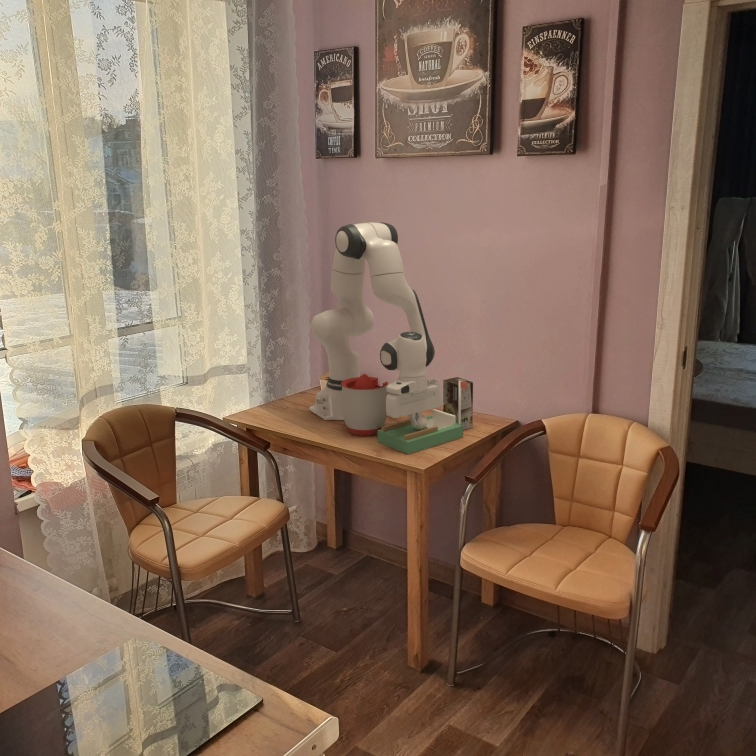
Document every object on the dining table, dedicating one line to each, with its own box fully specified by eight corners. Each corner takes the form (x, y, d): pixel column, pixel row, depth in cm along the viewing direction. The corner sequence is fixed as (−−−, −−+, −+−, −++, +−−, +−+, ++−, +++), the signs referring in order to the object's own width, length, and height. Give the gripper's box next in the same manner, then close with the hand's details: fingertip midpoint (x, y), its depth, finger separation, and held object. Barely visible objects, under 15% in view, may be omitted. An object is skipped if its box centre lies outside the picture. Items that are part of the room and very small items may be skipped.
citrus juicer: (401, 431, 262) (401, 374, 257) (358, 441, 253) (356, 382, 248) (376, 419, 275) (375, 365, 270) (333, 429, 265) (332, 372, 260)
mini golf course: (377, 442, 252) (376, 385, 247) (431, 426, 267) (431, 372, 262) (412, 456, 239) (412, 396, 234) (467, 438, 254) (468, 382, 249)
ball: (406, 422, 250) (415, 409, 251) (413, 428, 254) (421, 415, 255) (418, 428, 247) (427, 415, 248) (424, 434, 251) (433, 422, 252)
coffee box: (473, 427, 265) (474, 382, 260) (458, 431, 261) (458, 385, 257) (457, 420, 272) (457, 376, 268) (442, 424, 269) (442, 379, 265)
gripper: (432, 377, 254) (434, 418, 257) (381, 387, 242) (384, 430, 245) (445, 379, 249) (446, 421, 252) (394, 390, 237) (396, 434, 240)
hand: (415, 426), depth 248 cm, fingers closed, pressing on ball
